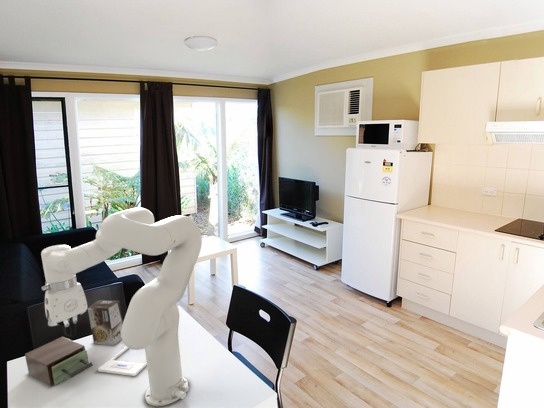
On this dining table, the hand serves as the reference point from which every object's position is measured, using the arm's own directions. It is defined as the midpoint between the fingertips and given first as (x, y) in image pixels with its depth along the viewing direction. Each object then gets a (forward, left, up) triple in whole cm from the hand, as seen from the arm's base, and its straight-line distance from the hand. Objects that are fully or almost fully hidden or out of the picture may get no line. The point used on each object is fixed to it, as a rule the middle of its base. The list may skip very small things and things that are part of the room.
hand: (71, 334), depth 115 cm
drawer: (+6, 0, -16) cm, 17 cm away
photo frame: (-6, -16, -17) cm, 24 cm away
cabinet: (+12, 0, -17) cm, 21 cm away
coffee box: (+14, -19, -17) cm, 29 cm away
